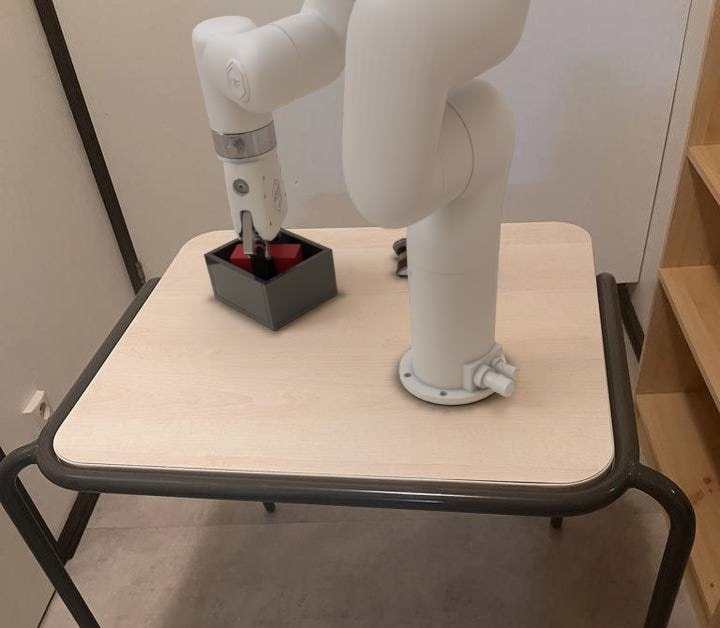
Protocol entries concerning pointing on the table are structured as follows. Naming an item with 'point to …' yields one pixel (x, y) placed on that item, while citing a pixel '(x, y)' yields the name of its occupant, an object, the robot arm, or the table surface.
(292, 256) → the red rectangular brick
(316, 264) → the grey storage bin
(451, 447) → the table surface
